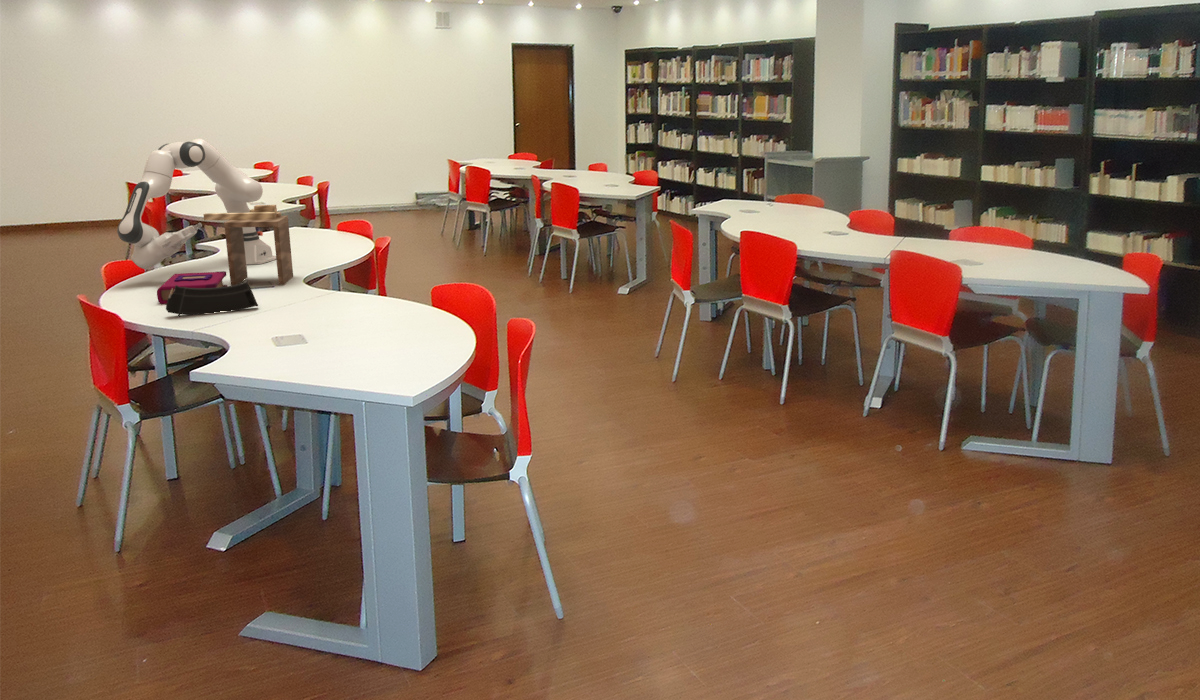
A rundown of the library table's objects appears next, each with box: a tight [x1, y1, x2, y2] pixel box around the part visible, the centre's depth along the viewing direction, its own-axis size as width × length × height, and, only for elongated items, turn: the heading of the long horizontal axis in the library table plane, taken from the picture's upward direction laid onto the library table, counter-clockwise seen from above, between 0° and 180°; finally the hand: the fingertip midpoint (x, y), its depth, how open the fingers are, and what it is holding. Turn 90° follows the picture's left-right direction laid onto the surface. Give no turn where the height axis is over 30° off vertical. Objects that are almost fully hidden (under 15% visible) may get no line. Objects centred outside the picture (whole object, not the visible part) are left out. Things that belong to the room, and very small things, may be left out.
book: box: [156, 271, 228, 305], centre depth 375 cm, size 21×28×8 cm
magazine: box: [165, 280, 259, 317], centre depth 345 cm, size 17×3×30 cm
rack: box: [223, 204, 294, 286], centre depth 399 cm, size 21×19×31 cm
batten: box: [203, 212, 276, 221], centre depth 395 cm, size 28×3×2 cm, turn 96°
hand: (197, 225), depth 394 cm, fingers open, 8 cm apart
